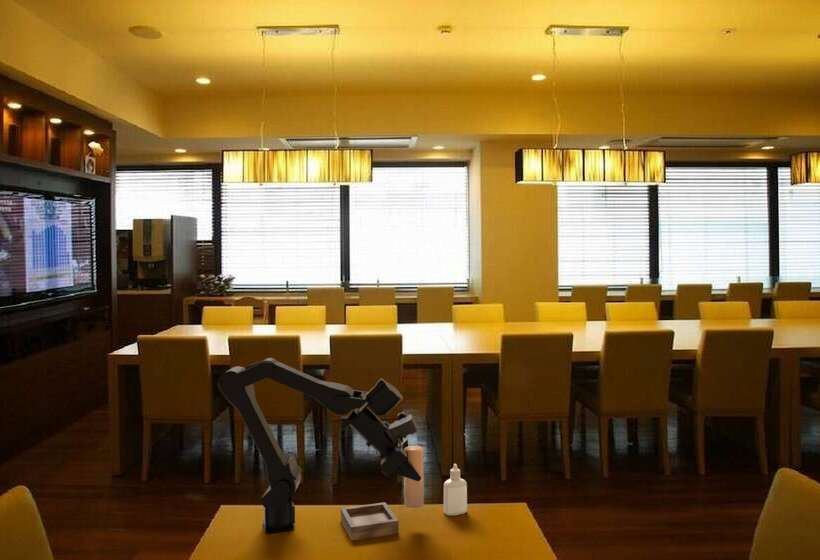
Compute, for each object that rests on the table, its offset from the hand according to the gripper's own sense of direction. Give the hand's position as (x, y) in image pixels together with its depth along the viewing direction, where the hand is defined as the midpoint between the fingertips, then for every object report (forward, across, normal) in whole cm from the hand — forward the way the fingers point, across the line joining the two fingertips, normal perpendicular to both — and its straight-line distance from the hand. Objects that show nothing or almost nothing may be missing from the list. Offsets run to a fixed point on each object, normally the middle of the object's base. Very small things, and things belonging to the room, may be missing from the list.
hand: (419, 476), depth 147 cm
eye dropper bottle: (+15, +8, +2) cm, 17 cm away
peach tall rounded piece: (+4, 0, +6) cm, 7 cm away
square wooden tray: (0, 0, +17) cm, 17 cm away
